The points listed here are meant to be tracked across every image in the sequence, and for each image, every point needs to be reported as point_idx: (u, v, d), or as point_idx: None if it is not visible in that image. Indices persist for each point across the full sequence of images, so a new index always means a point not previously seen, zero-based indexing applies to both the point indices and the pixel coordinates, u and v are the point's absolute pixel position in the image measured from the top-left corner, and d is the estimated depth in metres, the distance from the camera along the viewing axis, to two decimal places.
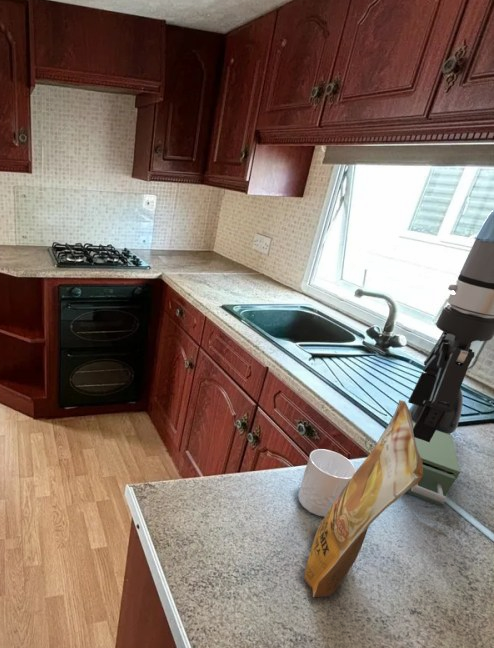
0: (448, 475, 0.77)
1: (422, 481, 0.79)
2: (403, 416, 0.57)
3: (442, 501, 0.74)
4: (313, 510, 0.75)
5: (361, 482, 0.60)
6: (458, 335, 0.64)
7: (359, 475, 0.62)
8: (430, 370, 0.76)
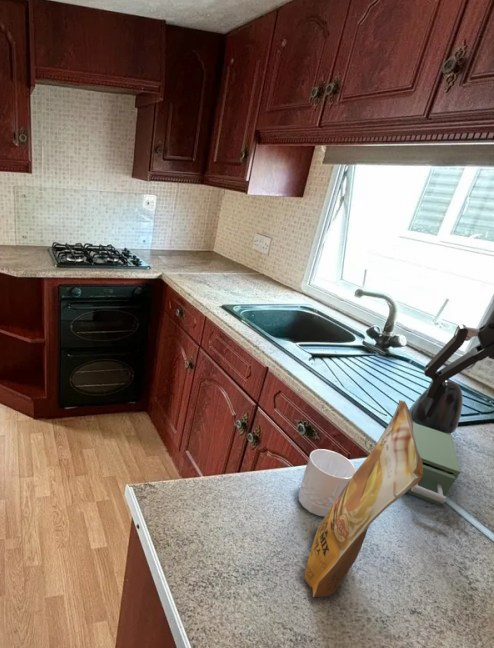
0: (448, 475, 0.77)
1: (422, 481, 0.79)
2: (403, 416, 0.57)
3: (442, 501, 0.74)
4: (313, 510, 0.75)
5: (361, 482, 0.60)
6: None
7: (359, 475, 0.62)
8: None
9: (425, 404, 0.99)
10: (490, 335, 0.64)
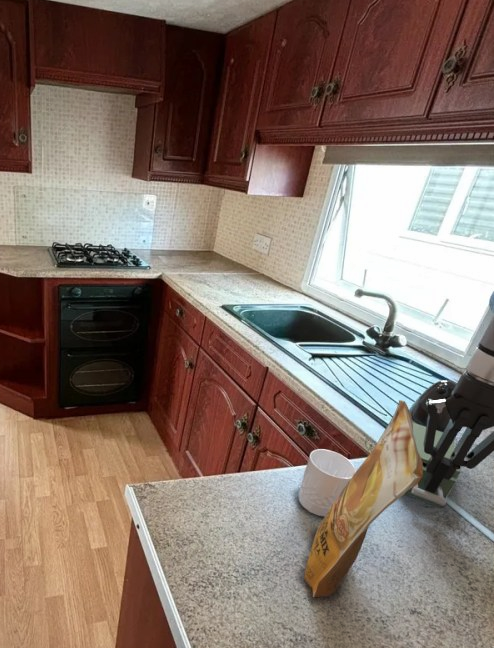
0: None
1: (422, 483, 0.79)
2: (403, 416, 0.57)
3: (442, 504, 0.74)
4: (313, 510, 0.75)
5: (361, 482, 0.60)
6: None
7: (359, 475, 0.62)
8: None
9: (425, 404, 0.99)
10: (456, 404, 0.69)
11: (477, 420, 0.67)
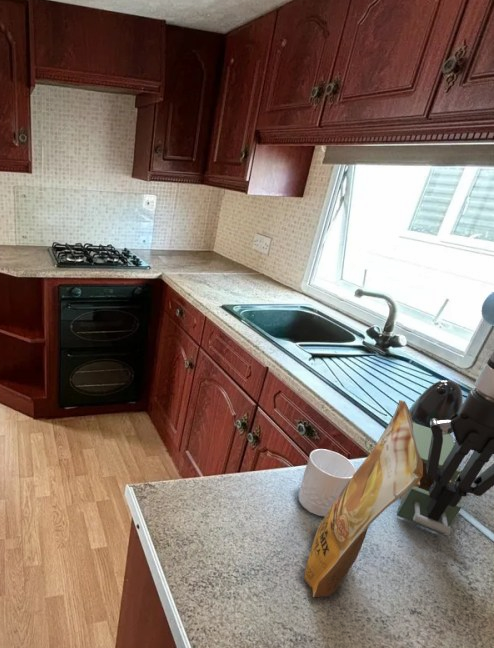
0: None
1: (425, 509, 0.73)
2: (403, 416, 0.57)
3: (447, 533, 0.68)
4: (313, 510, 0.75)
5: (361, 482, 0.60)
6: None
7: (359, 475, 0.62)
8: None
9: (425, 404, 0.99)
10: (463, 425, 0.62)
11: (486, 443, 0.61)
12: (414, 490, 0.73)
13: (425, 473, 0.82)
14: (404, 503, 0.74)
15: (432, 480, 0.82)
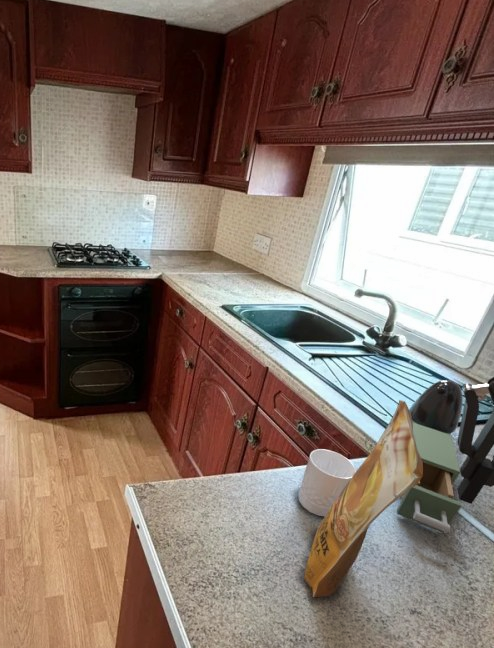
0: (453, 501, 0.71)
1: (425, 507, 0.73)
2: (403, 416, 0.57)
3: (447, 531, 0.68)
4: (313, 510, 0.75)
5: (361, 482, 0.60)
6: None
7: (359, 475, 0.62)
8: None
9: (425, 404, 0.99)
10: None
11: None
12: (414, 488, 0.73)
13: (425, 472, 0.83)
14: (404, 501, 0.75)
15: (432, 479, 0.83)
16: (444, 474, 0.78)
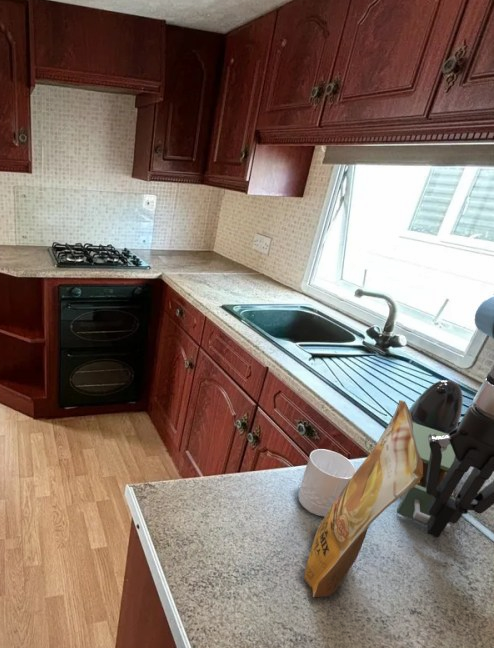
0: None
1: (425, 506, 0.73)
2: (403, 416, 0.57)
3: (446, 530, 0.68)
4: (313, 510, 0.75)
5: (361, 482, 0.60)
6: None
7: (359, 475, 0.62)
8: None
9: (425, 404, 0.99)
10: (462, 442, 0.60)
11: (486, 461, 0.59)
12: (414, 488, 0.73)
13: (425, 471, 0.83)
14: (404, 501, 0.75)
15: None
16: (444, 473, 0.78)
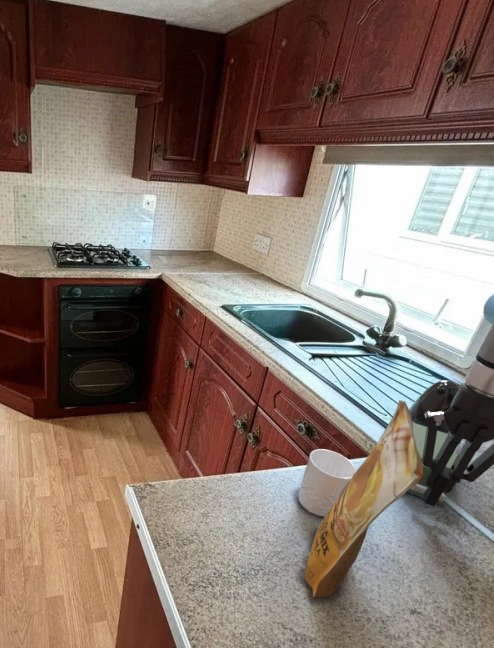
0: None
1: (422, 480, 0.80)
2: (403, 416, 0.57)
3: (442, 499, 0.75)
4: (313, 510, 0.75)
5: (361, 482, 0.60)
6: None
7: (359, 475, 0.62)
8: None
9: (425, 404, 0.99)
10: (455, 416, 0.67)
11: (477, 433, 0.66)
12: None
13: None
14: None
15: None
16: None
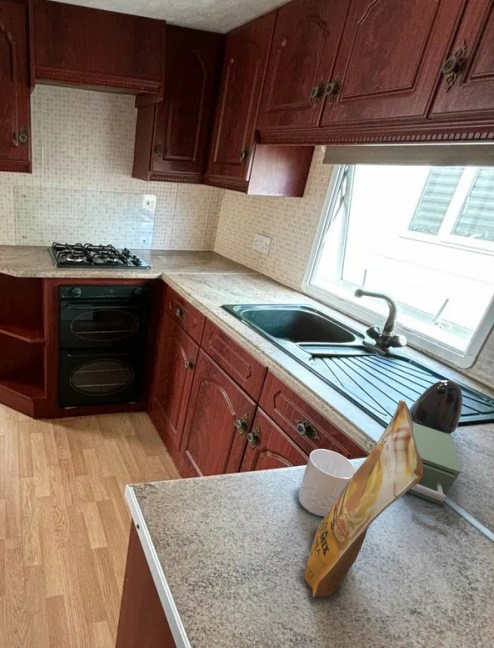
0: (448, 474, 0.78)
1: (422, 480, 0.80)
2: (403, 416, 0.57)
3: (442, 499, 0.75)
4: (313, 510, 0.75)
5: (361, 482, 0.60)
6: None
7: (359, 475, 0.62)
8: None
9: (425, 404, 0.99)
10: None
11: None
12: None
13: None
14: None
15: None
16: None
